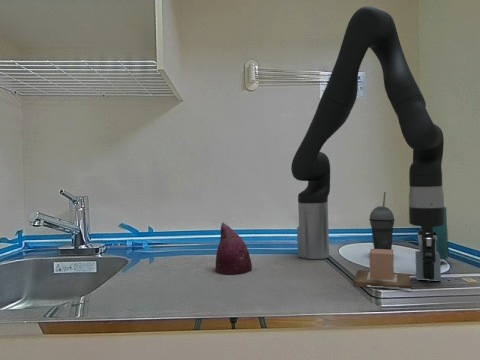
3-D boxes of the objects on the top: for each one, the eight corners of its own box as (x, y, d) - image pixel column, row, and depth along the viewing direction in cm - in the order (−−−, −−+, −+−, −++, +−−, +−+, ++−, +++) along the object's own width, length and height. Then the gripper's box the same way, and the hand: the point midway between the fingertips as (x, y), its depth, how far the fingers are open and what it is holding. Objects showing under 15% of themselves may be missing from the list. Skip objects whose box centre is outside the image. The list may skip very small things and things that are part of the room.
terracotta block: (370, 278, 83) (369, 252, 83) (371, 272, 88) (370, 248, 88) (393, 280, 81) (392, 254, 81) (393, 274, 86) (393, 249, 86)
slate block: (416, 280, 85) (416, 255, 85) (416, 274, 89) (415, 250, 89) (440, 282, 83) (440, 256, 83) (438, 276, 87) (438, 252, 87)
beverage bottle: (452, 265, 97) (450, 192, 97) (426, 265, 99) (424, 192, 98) (444, 259, 104) (442, 191, 104) (419, 259, 105) (417, 191, 105)
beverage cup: (376, 253, 115) (374, 191, 115) (399, 256, 110) (397, 191, 109) (366, 257, 110) (364, 192, 110) (389, 260, 105) (387, 192, 104)
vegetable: (212, 284, 98) (195, 233, 97) (226, 270, 108) (210, 223, 107) (247, 278, 94) (229, 224, 93) (258, 263, 104) (242, 214, 103)
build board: (353, 286, 83) (353, 280, 83) (358, 274, 92) (358, 269, 92) (410, 291, 78) (410, 285, 78) (409, 278, 87) (409, 273, 87)
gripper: (447, 208, 78) (449, 285, 78) (440, 202, 91) (442, 269, 91) (409, 208, 81) (411, 282, 81) (408, 202, 94) (409, 266, 94)
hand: (427, 275), depth 86 cm, fingers closed on slate block, 5 cm apart
